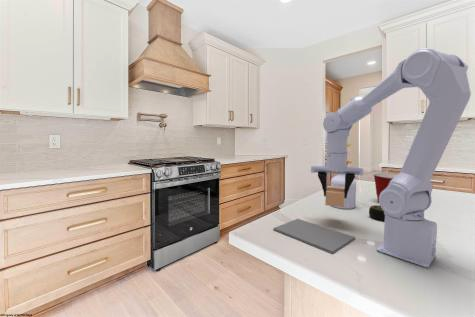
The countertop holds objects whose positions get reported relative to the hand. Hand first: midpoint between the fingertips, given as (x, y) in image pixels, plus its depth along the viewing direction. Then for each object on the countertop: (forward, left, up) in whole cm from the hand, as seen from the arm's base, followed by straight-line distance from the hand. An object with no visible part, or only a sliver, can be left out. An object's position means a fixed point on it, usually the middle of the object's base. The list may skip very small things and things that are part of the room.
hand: (335, 196), depth 70 cm
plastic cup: (-3, -39, -9) cm, 40 cm away
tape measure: (-8, -17, -9) cm, 21 cm away
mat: (0, +12, -9) cm, 15 cm away
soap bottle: (+7, -21, -9) cm, 23 cm away
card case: (0, 0, -2) cm, 2 cm away
